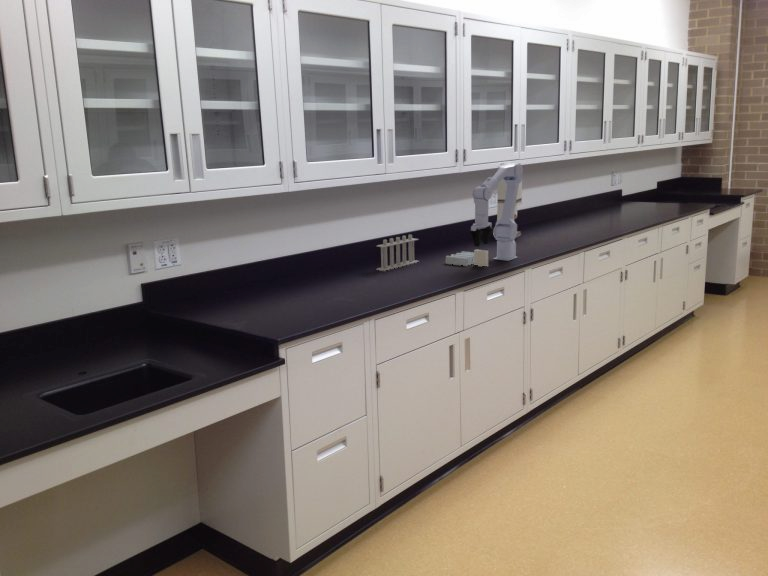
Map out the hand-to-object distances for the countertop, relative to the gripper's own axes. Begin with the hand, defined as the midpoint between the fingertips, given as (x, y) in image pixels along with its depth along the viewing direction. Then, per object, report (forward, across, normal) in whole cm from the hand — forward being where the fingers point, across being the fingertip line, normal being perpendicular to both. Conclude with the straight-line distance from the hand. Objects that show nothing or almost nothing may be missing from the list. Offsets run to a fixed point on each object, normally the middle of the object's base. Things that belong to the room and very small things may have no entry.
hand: (481, 245), depth 297 cm
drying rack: (+9, -3, -10) cm, 14 cm away
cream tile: (+9, 0, 0) cm, 9 cm away
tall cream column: (+10, -83, -30) cm, 89 cm away
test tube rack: (+10, +20, -31) cm, 38 cm away
